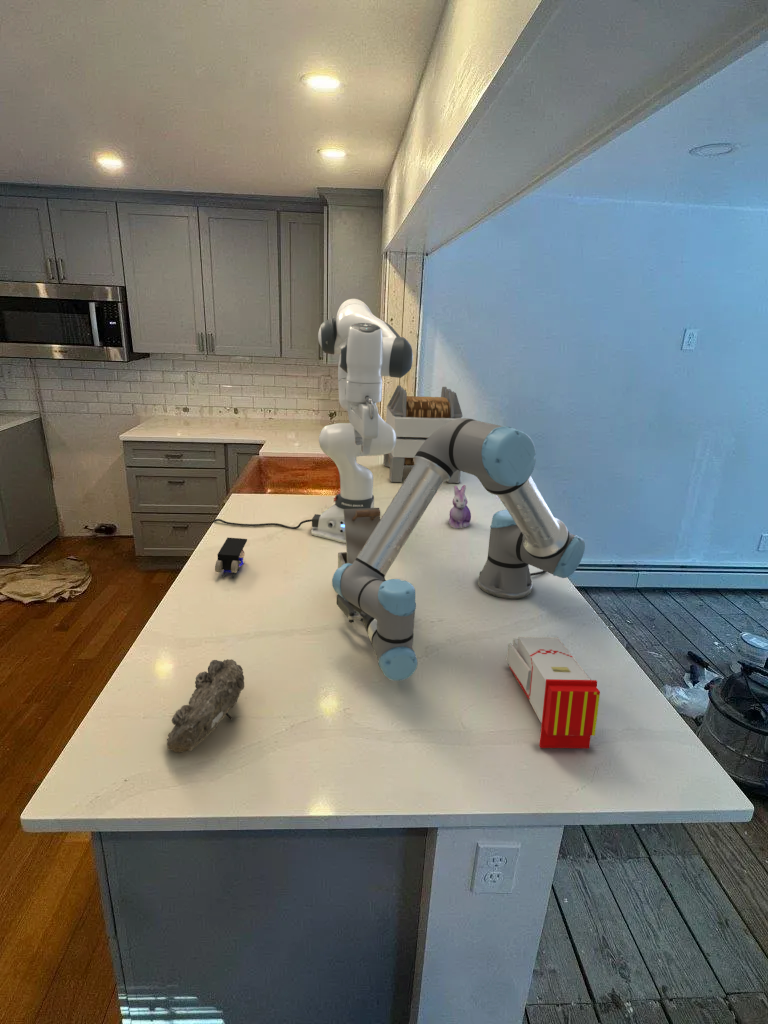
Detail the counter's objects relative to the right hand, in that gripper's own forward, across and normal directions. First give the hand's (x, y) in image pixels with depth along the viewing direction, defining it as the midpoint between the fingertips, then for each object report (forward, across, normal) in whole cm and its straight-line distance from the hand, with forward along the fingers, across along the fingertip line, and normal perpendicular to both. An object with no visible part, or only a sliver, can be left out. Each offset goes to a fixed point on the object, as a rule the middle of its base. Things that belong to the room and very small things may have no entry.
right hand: (363, 583), depth 148 cm
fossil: (-37, -37, -7) cm, 53 cm away
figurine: (+54, +48, -7) cm, 73 cm away
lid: (+1, 0, +11) cm, 11 cm away
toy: (-44, +29, -7) cm, 53 cm away
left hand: (+7, 0, +34) cm, 35 cm away
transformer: (+123, +53, -7) cm, 134 cm away
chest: (+5, 0, -7) cm, 9 cm away
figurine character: (+28, -34, -7) cm, 44 cm away
